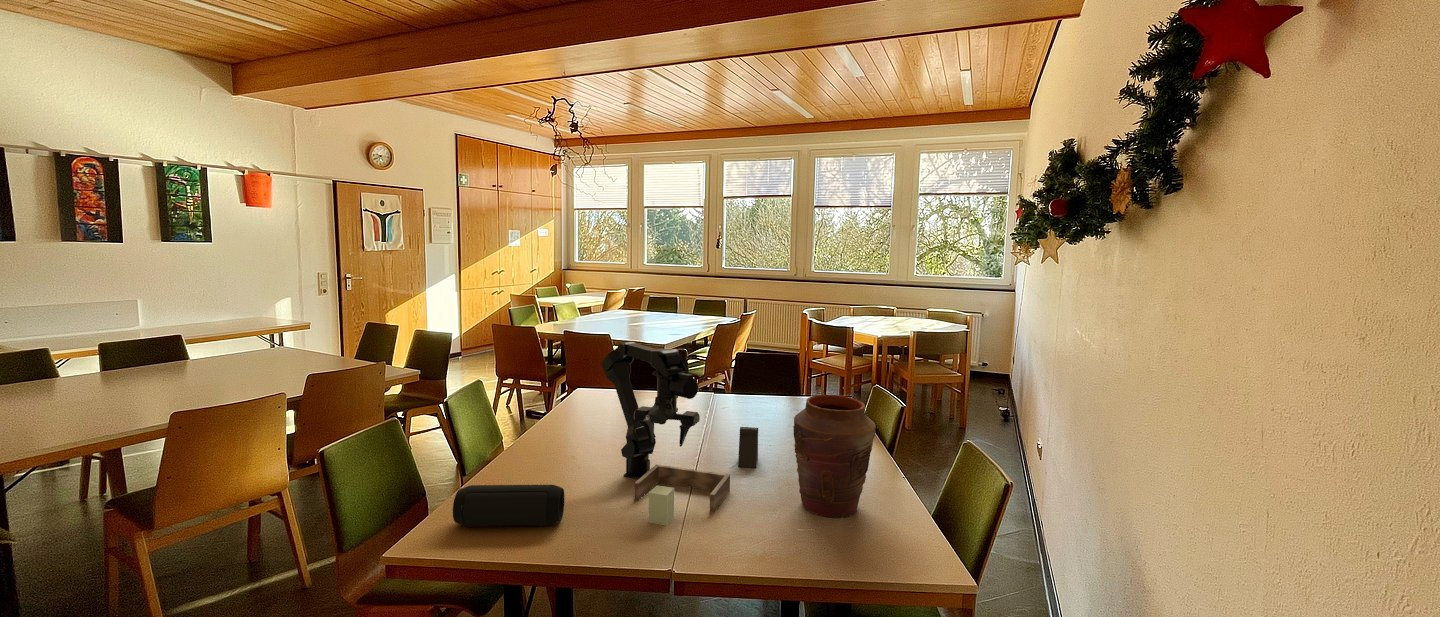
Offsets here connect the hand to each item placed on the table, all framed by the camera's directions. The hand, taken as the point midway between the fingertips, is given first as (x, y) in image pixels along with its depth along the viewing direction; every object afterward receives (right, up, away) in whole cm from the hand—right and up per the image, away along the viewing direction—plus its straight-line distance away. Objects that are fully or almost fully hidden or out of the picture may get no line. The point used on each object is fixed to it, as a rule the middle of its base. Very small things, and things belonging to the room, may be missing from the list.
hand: (666, 444), depth 175 cm
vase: (+46, -15, -10) cm, 50 cm away
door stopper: (+25, -12, +23) cm, 36 cm away
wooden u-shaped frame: (+5, -14, -5) cm, 15 cm away
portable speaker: (-37, -15, -24) cm, 47 cm away
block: (0, -15, -20) cm, 25 cm away
